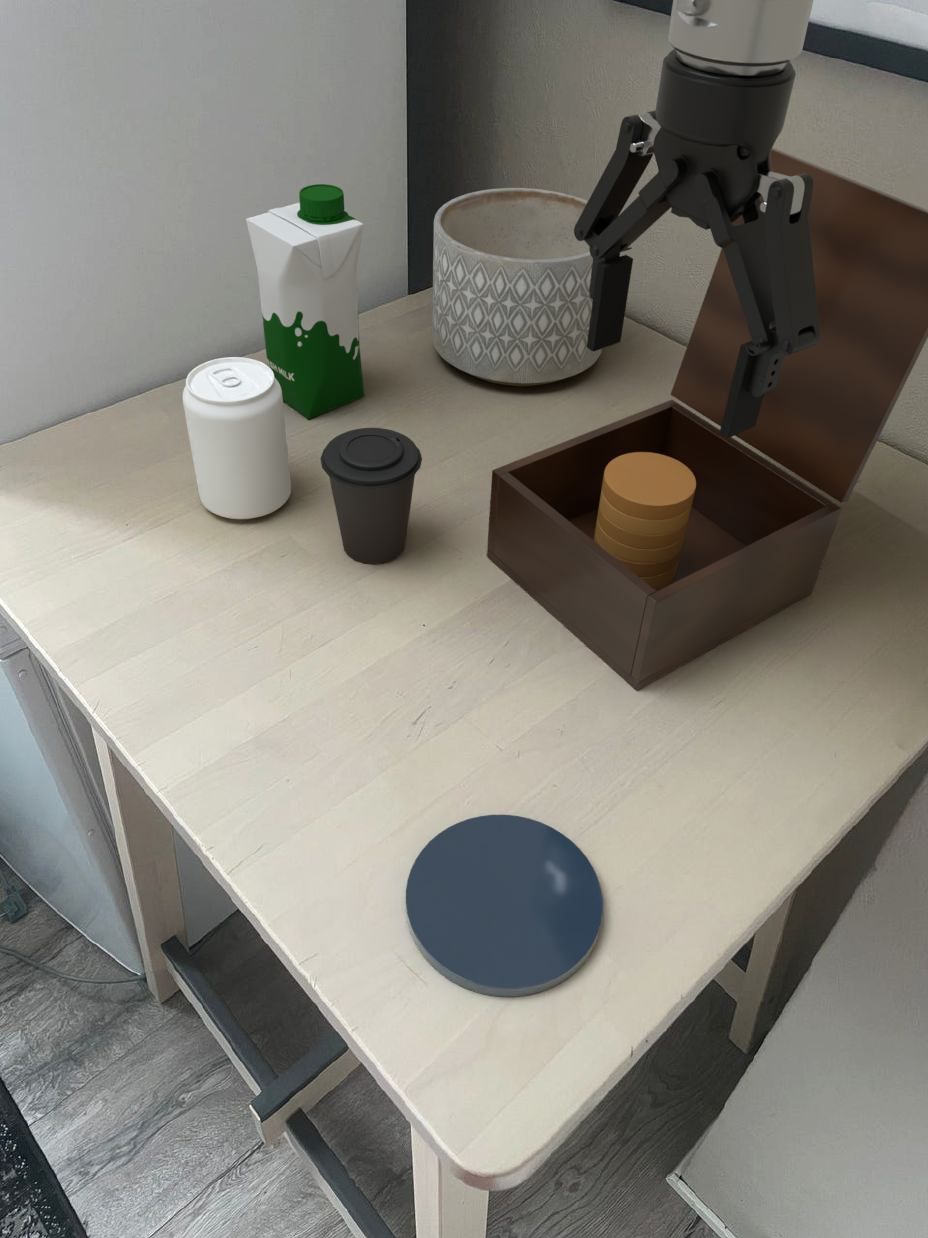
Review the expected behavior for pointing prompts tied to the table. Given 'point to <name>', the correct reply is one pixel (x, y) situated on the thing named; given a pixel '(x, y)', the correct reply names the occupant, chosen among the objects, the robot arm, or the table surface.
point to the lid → (826, 333)
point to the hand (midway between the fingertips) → (666, 385)
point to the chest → (711, 553)
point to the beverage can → (237, 437)
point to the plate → (503, 905)
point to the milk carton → (310, 298)
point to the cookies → (645, 514)
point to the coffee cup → (372, 490)
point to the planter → (512, 286)
